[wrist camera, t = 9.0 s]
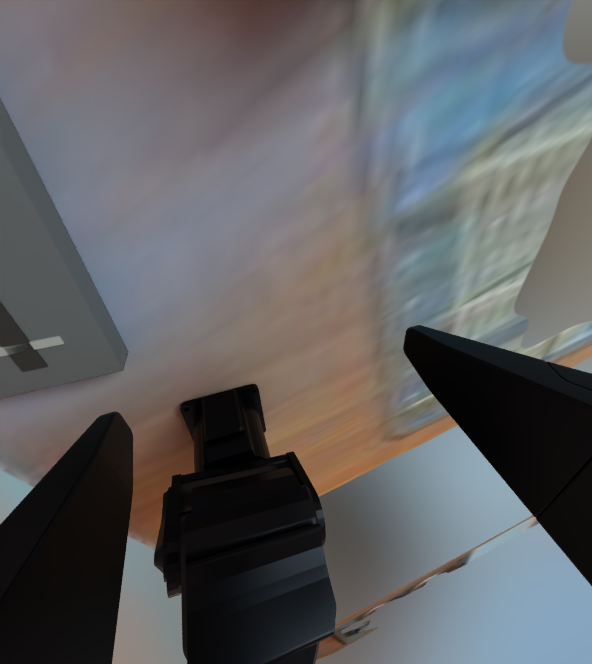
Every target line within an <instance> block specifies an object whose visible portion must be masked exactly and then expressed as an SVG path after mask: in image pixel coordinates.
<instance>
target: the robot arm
mask: <svg viewBox="0 0 592 664" xmlns="http://www.w3.org/2000/svg"><path fill="white" fill-rule="evenodd" d="M403 348H404V353H405V355H406V356H407V358H408V359H409V361H410V362H411V364H412V365H413V367H414V368H415V370H416V371H417V373H418V374H419V376H420V377H421V379H422V380H423V382H424V383H425V384H426V386H427V387H428V389H429V390H430V391H431V393H432V394H433V395H434V396H435V397H436V399H437V400H438V401H439V402H440V404H441V405H442V406H443V407H444V408H445V410H446V411H447V412H448V413H449V414H450V416H451V417H452V418H453V419H454V420H455V422H456V423H457V424H458V425H459V426H460V428H461V429H462V430H463V431H464V432H465V433H466V435H467V436H468V437H469V438H470V439H471V441H472V442H473V443H474V444H475V446H476V447H477V448H478V449H479V450H480V452H481V453H482V454H483V455H484V457H485V458H486V459H487V460H488V461H489V463H490V464H491V465H492V466H493V467H494V468H495V470H496V471H497V472H498V473H499V474H500V476H501V477H502V478H503V479H504V480H505V482H506V483H507V484H508V485H509V487H510V488H511V489H512V490H513V491H514V493H515V494H516V495H517V496H518V497H519V499H520V500H521V501H522V502H523V504H524V505H525V506H526V507H527V508H528V510H529V511H530V512H531V513H532V514H533V516H534V517H536V519H537V521H538V522H539V523H540V524H541V525H542V527H543V528H544V529H545V530H546V531H547V533H548V534H549V535H550V536H551V537H552V539H553V540H554V541H555V542H556V544H557V545H558V546H559V547H560V548H561V549H562V551H563V552H564V553H565V554H566V556H567V557H568V558H569V559H570V560H571V562H572V563H573V564H574V565H575V567H576V568H577V569H578V570H579V571H580V573H581V574H582V575H583V576H584V577H585V578H586V580H587V581H588V582H589V583H590V585H591V586H592V374H591V373H587V372H583V371H580V370H576V369H572V368H569V367H565V366H562V365H558V364H555V363H551V362H545V361H544V360H540V359H537V358H533V357H530V356H526V355H523V354H519V353H516V352H512V351H509V350H505V349H502V348H498V347H495V346H491V345H488V344H484V343H481V342H477V341H474V340H470V339H467V338H463V337H460V336H456V335H452V334H449V333H445V332H442V331H438V330H435V329H431V328H428V327H424V326H421V325H417V326H413V327H410V328H408V329H407V330H406V334H405V340H404V347H403ZM252 389H254V390H252ZM186 407H189V408H186ZM180 410H181V413H182V415H183V418H184V420H185V422H186V425H187V427H188V429H189V431H190V434H191V436H192V438H193V441H194V469H195V473H191V474H186V475H181V474H179V475H174V476H172V486H171V487H169V488H168V491H167V492H166V493H164V494H163V509H162V520H161V525H160V530H159V535H158V539H157V544H156V549H155V554H154V565H155V566H156V567H157V568H158V569H159V570H160V571H161V572H162V573H163V574H164V582H167V593H168V598H171V597H174V596H177V595H180V594H181V593H182V635H183V638H182V639H183V652H184V655H185V657H186V659H187V664H315V661H316V657H317V652H318V647H319V643H320V641H322V640H324V639H327V638H329V637H331V636H332V635H333V634H334V629H335V617H336V602H335V598H334V594H333V590H332V586H331V583H330V579H329V574H328V571H327V566H326V561H325V555H324V550H323V545H324V543H325V536H326V532H325V522H324V516H323V511H322V507H321V504H320V500H319V498H318V495H317V493H316V491H315V489H314V487H313V485H312V483H311V482H310V480H309V478H308V476H307V474H306V473H305V471H304V469H303V467H302V466H301V464H300V462H299V460H298V459H297V457H296V455H295V453H294V452H288V453H286V454H284V455H280V456H275V457H270V454H269V450H268V446H267V443H266V439H265V435H264V432H265V431H266V428H265V422H264V417H263V411H262V406H261V400H260V395H259V389H258V386H257V385H256V384H250V385H247V386H243V387H239V388H235V389H232V390H228V391H224V392H220V393H216V394H213V395H209V396H205V397H201V398H197V399H194V400H190V401H186V402H183V403H182V404H181V408H180ZM132 493H133V434H132V431H131V429H130V427H129V426H128V425H127V423H126V422H125V420H124V419H123V417H122V416H121V414H120V413H118V412H111V413H108V414H104V415H101V416H99V417H98V418H97V419H96V420H95V421H94V422H93V424H92V425H91V426H90V427H89V428H88V429H87V430H86V431H85V432H84V433H83V434H82V436H81V437H80V438H79V439H78V440H77V441H76V442H75V443H74V444H73V445H72V447H71V448H70V449H69V450H68V451H67V452H66V453H65V454H64V455H63V456H62V458H61V459H60V460H59V461H58V462H57V463H56V464H55V465H54V466H53V467H52V468H51V470H50V471H49V472H48V473H47V474H46V475H45V476H44V477H43V478H42V479H41V481H40V482H39V483H38V484H37V485H36V486H35V487H34V488H33V489H32V491H31V492H30V493H29V494H28V495H27V496H26V497H25V498H24V499H23V500H22V501H21V502H20V504H19V505H18V506H17V507H16V508H15V509H14V510H13V511H12V513H10V515H9V516H8V517H7V518H6V519H5V520H4V521H3V522H2V523H1V524H0V664H112V657H113V649H114V642H115V633H116V625H117V617H118V609H119V601H120V593H121V585H122V575H123V568H124V560H125V552H126V543H127V536H128V528H129V519H130V511H131V503H132Z"/></svg>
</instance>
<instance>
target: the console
mask: <svg viewBox="0 0 592 664" xmlns="http://www.w3.org/2000/svg"><path fill="white" fill-rule="evenodd" d="M127 355H128V350H127V348H126V346H125V344H124V342H123V340H122V338H121V336H120V334H119V332H118V330H117V329H116V327H115V325H114V323H113V321H112V319H111V317H110V315H109V313H108V311H107V309H106V307H105V305H104V303H103V301H102V299H101V297H100V295H99V293H98V291H97V289H96V287H95V285H94V283H93V281H92V279H91V277H90V275H89V273H88V271H87V269H86V267H85V265H84V263H83V261H82V259H81V257H80V255H79V253H78V251H77V249H76V247H75V245H74V243H73V241H72V239H71V237H70V235H69V233H68V231H67V229H66V227H65V225H64V223H63V221H62V220H61V218H60V216H59V214H58V212H57V210H56V208H55V206H54V204H53V202H52V200H51V198H50V196H49V194H48V192H47V190H46V188H45V186H44V184H43V182H42V180H41V178H40V176H39V174H38V172H37V170H36V168H35V166H34V164H33V162H32V160H31V158H30V156H29V154H28V152H27V150H26V148H25V146H24V144H23V142H22V140H21V138H20V136H19V134H18V132H17V130H16V128H15V126H14V124H13V122H12V120H11V118H10V116H9V114H8V112H7V110H6V109H5V107H4V105H3V103H2V101H1V99H0V398H5V397H9V396H14V395H18V394H22V393H27V392H31V391H35V390H40V389H44V388H49V387H53V386H57V385H62V384H66V383H71V382H75V381H79V380H84V379H88V378H92V377H97V376H101V375H106V374H110V373H114V372H119V371H123V369H124V366H125V362H126V359H127Z"/></svg>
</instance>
